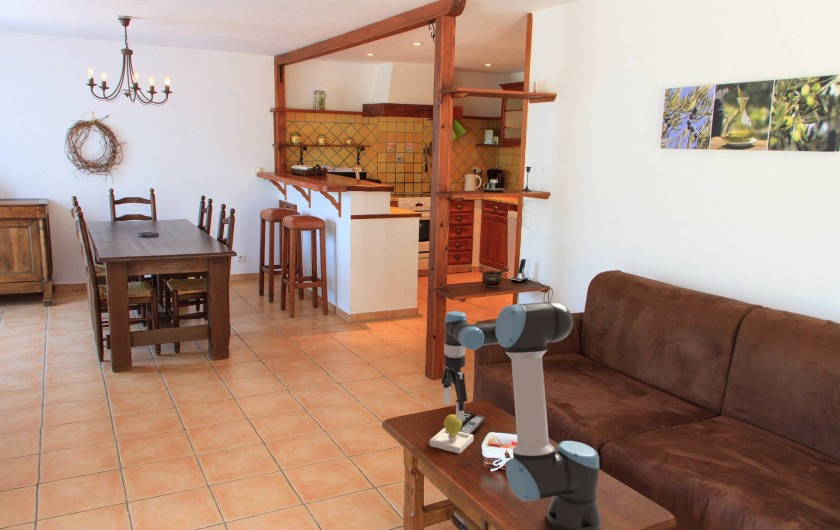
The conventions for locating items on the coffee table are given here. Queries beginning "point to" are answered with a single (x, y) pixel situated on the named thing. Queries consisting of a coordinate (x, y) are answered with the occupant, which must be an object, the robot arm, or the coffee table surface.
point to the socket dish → (444, 443)
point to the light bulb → (452, 426)
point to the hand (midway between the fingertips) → (453, 411)
